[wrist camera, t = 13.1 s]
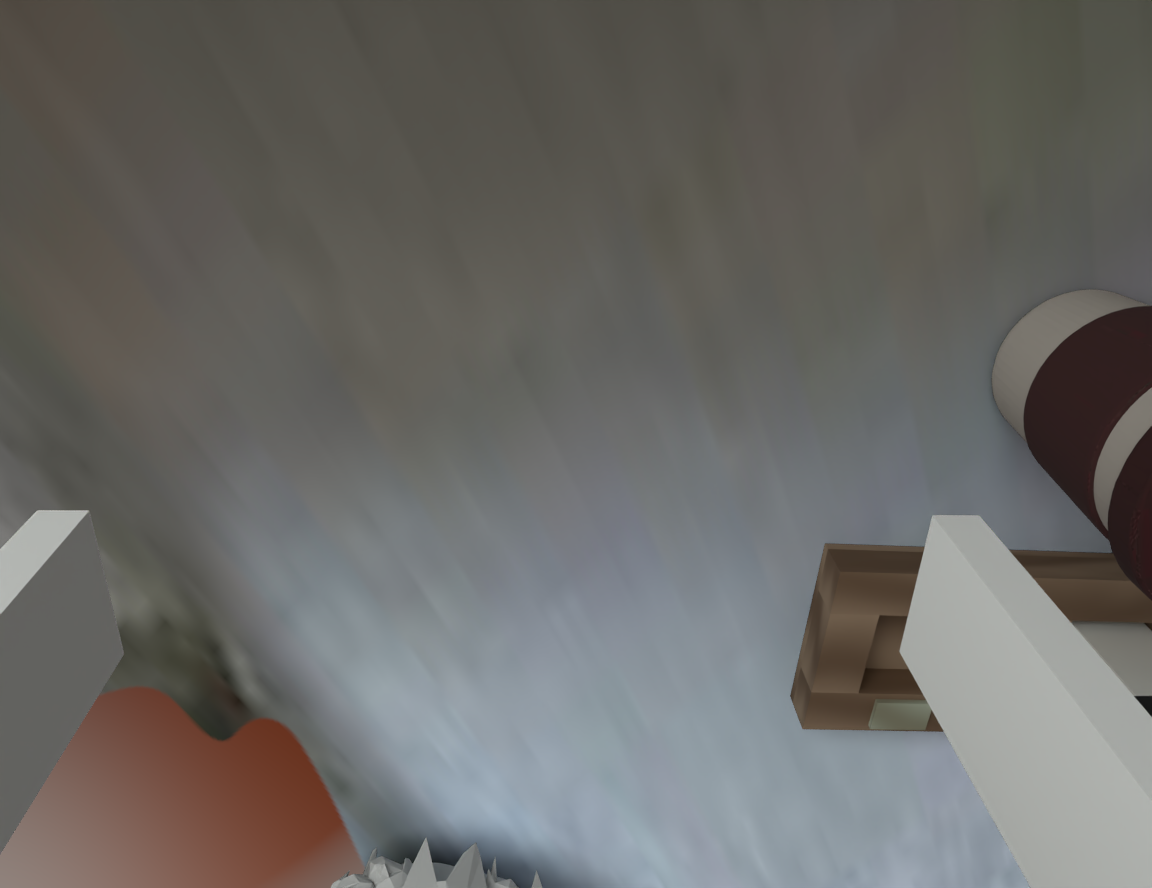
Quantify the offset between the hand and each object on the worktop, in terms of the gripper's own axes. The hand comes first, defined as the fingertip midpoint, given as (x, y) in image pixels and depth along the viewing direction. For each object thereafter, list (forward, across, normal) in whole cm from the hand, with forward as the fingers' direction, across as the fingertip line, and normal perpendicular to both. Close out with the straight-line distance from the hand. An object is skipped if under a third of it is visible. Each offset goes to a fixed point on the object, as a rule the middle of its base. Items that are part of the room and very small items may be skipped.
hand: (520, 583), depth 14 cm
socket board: (+26, +25, -21) cm, 42 cm away
